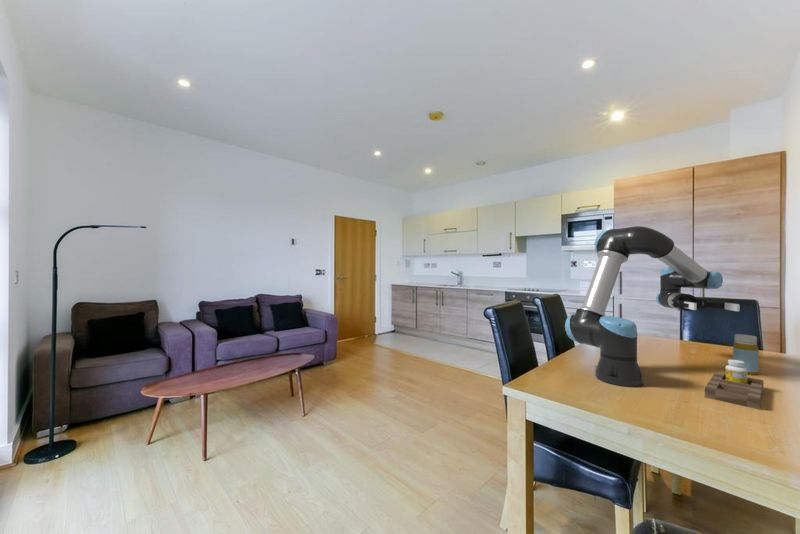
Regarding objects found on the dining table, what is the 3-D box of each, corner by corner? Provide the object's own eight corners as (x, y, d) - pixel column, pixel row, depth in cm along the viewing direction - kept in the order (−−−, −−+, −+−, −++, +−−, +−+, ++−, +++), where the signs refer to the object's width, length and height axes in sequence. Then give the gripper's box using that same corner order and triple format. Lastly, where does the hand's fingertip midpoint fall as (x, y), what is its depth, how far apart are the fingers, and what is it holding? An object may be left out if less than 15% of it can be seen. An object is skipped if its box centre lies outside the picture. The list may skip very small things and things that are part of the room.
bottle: (746, 369, 132) (746, 334, 132) (764, 375, 125) (763, 337, 125) (728, 369, 132) (728, 333, 133) (744, 374, 126) (744, 337, 126)
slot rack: (759, 409, 95) (759, 399, 95) (704, 397, 104) (704, 387, 104) (763, 388, 111) (763, 380, 111) (715, 379, 120) (715, 371, 120)
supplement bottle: (748, 392, 108) (748, 364, 108) (726, 388, 111) (726, 361, 111) (745, 387, 112) (745, 360, 112) (724, 384, 116) (724, 358, 116)
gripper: (716, 311, 139) (757, 318, 118) (650, 309, 145) (678, 315, 124) (716, 294, 139) (757, 298, 118) (650, 292, 145) (678, 296, 124)
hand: (716, 307), depth 121 cm, fingers open, 13 cm apart
